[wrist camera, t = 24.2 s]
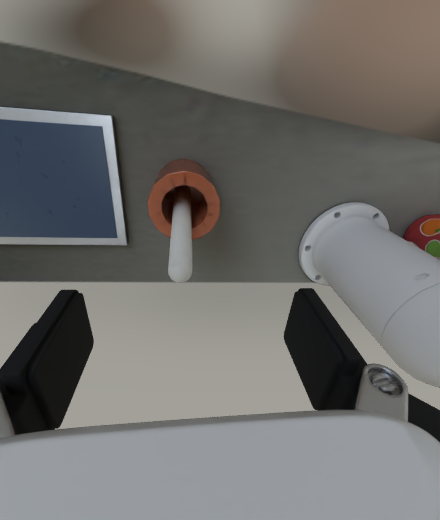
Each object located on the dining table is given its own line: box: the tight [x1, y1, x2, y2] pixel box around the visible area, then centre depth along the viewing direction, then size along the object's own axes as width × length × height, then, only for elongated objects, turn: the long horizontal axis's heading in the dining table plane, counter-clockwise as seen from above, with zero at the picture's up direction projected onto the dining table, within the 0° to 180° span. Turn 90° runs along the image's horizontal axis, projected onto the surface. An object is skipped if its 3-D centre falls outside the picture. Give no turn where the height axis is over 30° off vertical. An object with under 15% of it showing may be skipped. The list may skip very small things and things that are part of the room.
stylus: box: [168, 185, 192, 283], centre depth 24 cm, size 2×2×14 cm
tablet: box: [0, 107, 128, 245], centre depth 27 cm, size 20×14×1 cm
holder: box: [148, 159, 220, 240], centre depth 27 cm, size 7×7×7 cm
